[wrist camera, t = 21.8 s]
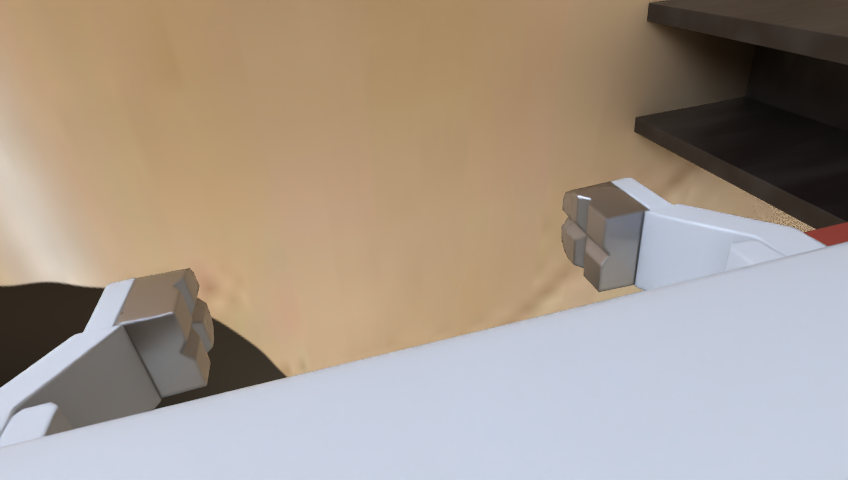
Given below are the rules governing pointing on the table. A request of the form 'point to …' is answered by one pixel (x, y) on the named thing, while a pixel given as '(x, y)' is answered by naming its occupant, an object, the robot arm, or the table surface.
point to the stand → (770, 104)
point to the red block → (831, 234)
